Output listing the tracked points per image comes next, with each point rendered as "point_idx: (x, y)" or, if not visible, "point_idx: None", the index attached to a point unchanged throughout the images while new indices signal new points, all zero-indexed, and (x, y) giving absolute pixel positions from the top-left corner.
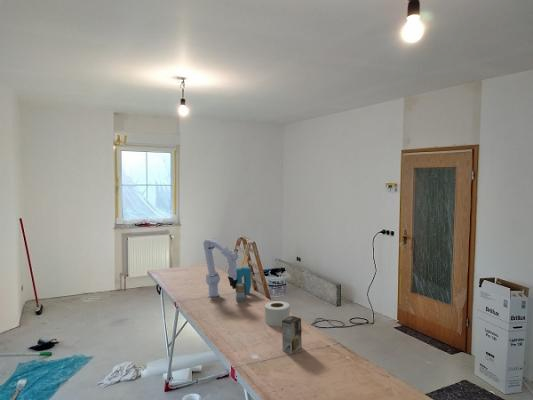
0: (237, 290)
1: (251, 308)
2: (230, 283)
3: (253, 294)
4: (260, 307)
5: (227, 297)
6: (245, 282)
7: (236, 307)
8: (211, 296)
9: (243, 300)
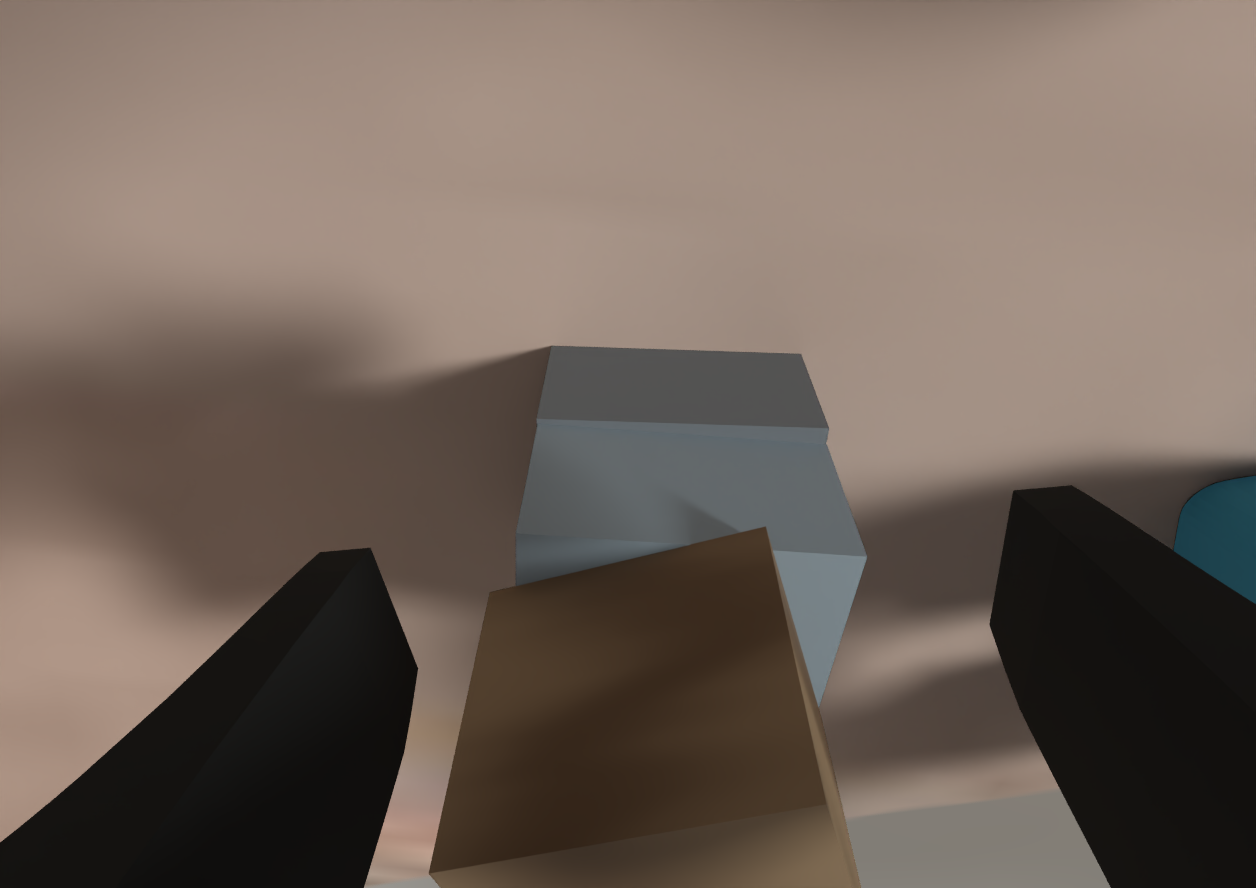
0: (565, 636)
1: (22, 603)
2: (1123, 631)
3: (1019, 741)
4: (114, 738)
5: (1174, 96)
6: None
7: (43, 292)
8: None
9: None
